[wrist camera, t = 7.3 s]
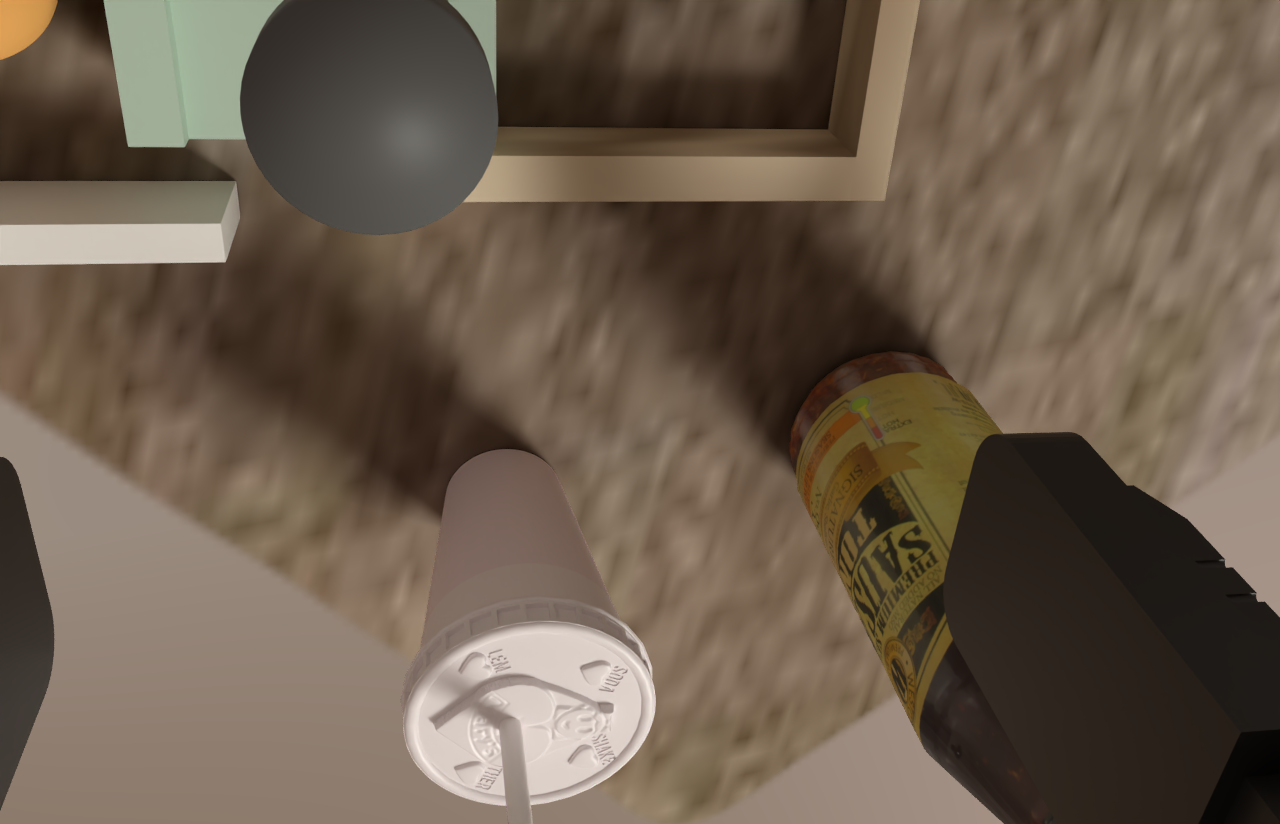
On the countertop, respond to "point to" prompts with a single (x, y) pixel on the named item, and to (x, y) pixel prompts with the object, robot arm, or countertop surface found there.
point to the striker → (321, 96)
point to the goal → (117, 221)
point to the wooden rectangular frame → (730, 141)
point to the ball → (23, 23)
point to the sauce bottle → (908, 549)
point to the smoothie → (521, 648)
